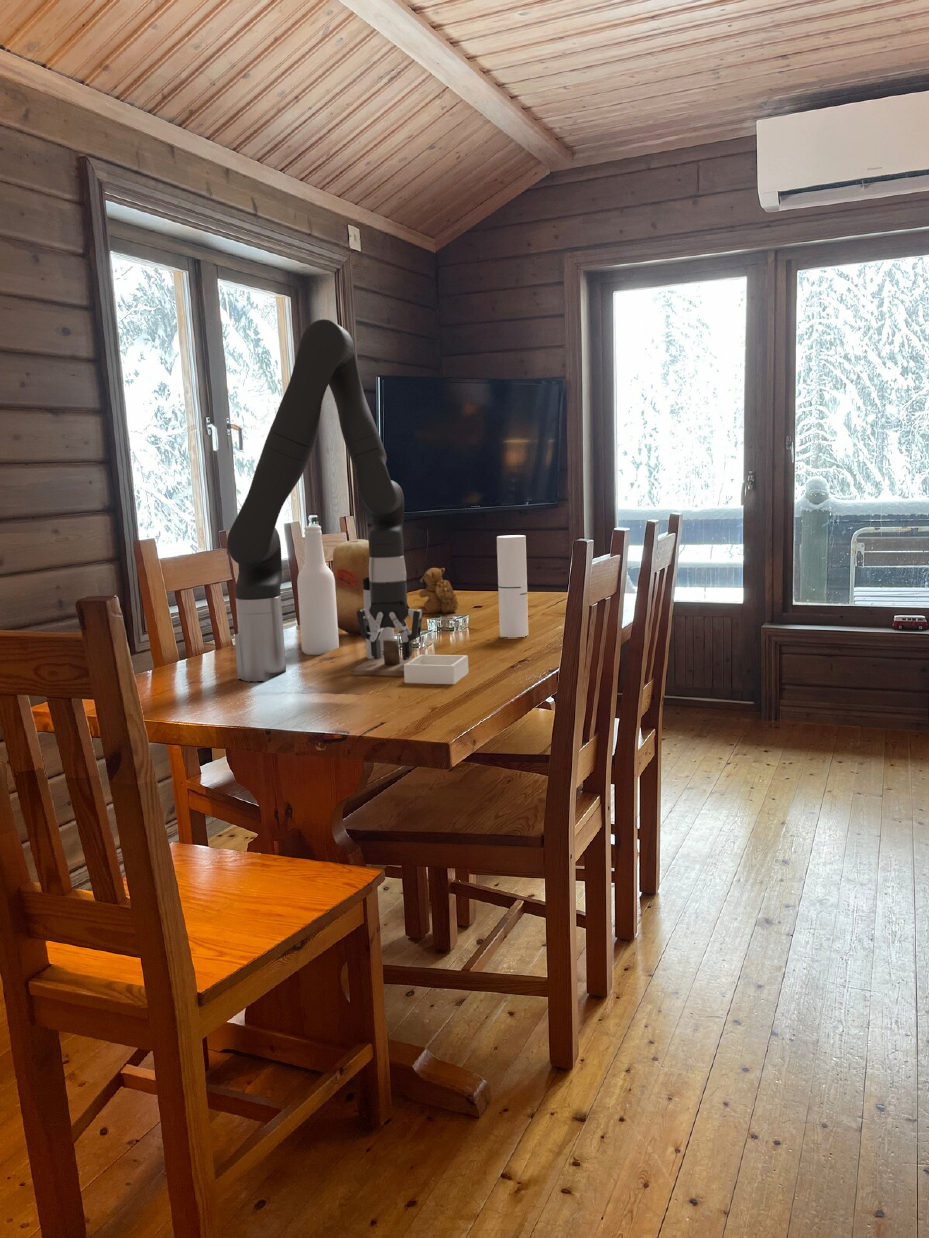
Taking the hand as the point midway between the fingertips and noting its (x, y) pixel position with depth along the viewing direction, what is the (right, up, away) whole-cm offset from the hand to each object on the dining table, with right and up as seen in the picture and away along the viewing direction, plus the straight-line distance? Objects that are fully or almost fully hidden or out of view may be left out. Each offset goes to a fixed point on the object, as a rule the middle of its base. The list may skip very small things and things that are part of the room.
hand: (392, 658), depth 192 cm
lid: (0, -2, 0) cm, 2 cm away
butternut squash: (-12, +4, +51) cm, 52 cm away
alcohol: (-19, 0, +30) cm, 36 cm away
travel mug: (-3, -2, +14) cm, 14 cm away
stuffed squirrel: (+8, +10, +86) cm, 87 cm away
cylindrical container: (+28, +4, +41) cm, 49 cm away
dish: (+10, -5, -9) cm, 14 cm away
